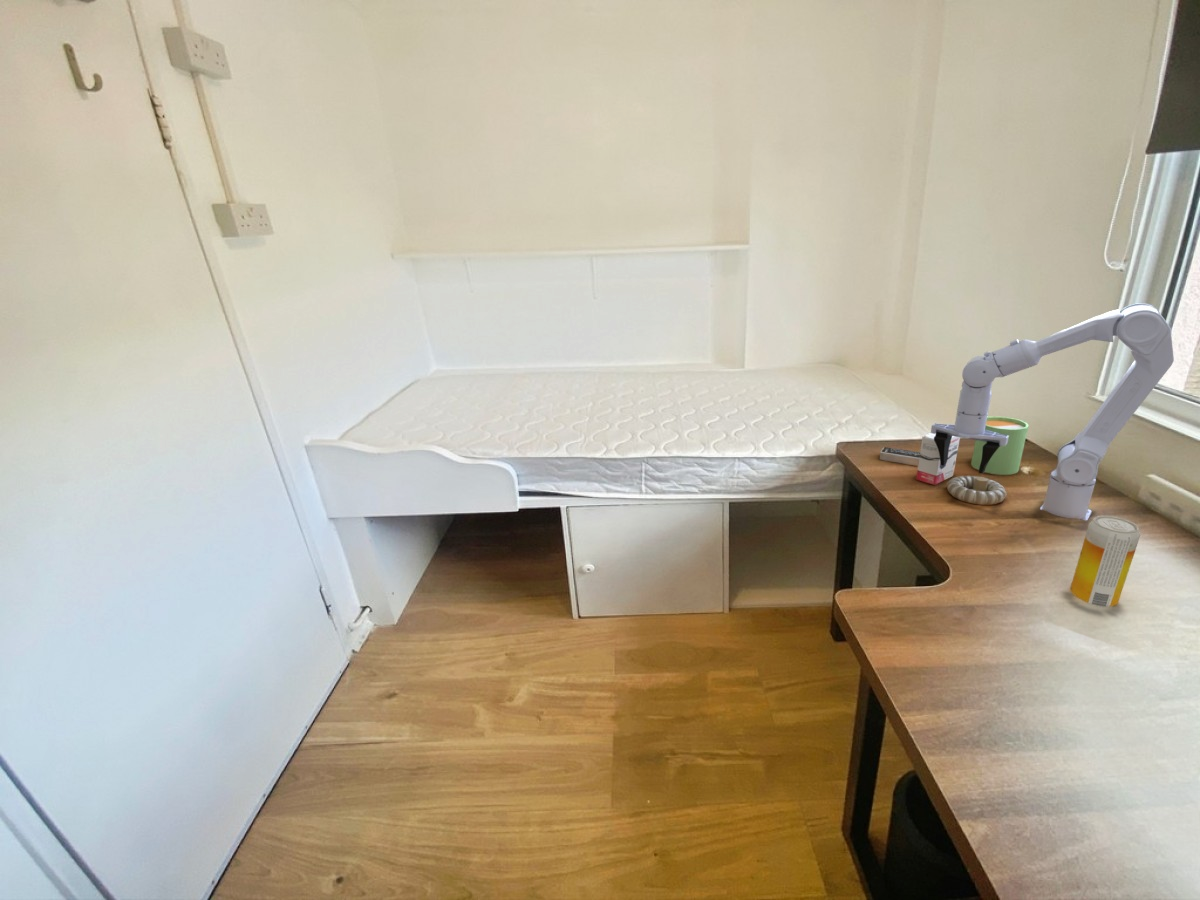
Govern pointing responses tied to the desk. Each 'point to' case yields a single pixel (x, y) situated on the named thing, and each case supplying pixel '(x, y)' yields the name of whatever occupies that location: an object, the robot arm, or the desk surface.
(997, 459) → the mug
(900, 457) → the multiport hub
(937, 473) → the ink box
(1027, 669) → the desk surface
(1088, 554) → the orange pill bottle
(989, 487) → the ring
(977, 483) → the stand
